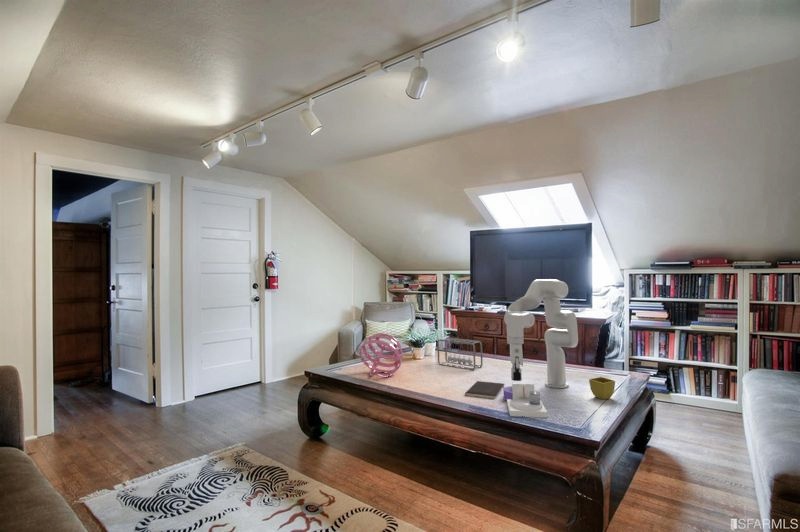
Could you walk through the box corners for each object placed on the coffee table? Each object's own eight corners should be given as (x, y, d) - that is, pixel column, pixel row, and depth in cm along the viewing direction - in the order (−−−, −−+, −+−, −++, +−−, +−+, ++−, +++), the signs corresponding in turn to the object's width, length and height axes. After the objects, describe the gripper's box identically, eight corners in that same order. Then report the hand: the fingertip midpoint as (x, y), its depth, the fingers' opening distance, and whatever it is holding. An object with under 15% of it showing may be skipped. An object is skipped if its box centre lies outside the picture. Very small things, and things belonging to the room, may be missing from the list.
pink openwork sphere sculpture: (381, 351, 235) (394, 320, 256) (344, 359, 248) (359, 329, 270) (403, 384, 246) (414, 351, 267) (367, 389, 259) (380, 358, 281)
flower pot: (603, 401, 198) (603, 383, 198) (588, 396, 206) (588, 378, 206) (616, 398, 202) (615, 380, 202) (601, 394, 210) (600, 376, 210)
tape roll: (507, 403, 199) (507, 393, 200) (500, 396, 211) (500, 386, 211) (531, 402, 200) (531, 392, 200) (522, 395, 212) (522, 385, 212)
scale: (506, 402, 200) (506, 382, 200) (540, 403, 197) (539, 383, 197) (510, 416, 182) (509, 393, 182) (547, 417, 179) (546, 394, 179)
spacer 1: (511, 378, 192) (510, 367, 192) (521, 378, 191) (520, 367, 191) (511, 380, 187) (511, 369, 187) (522, 381, 186) (521, 370, 187)
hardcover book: (504, 387, 227) (504, 383, 227) (495, 400, 206) (495, 395, 206) (476, 384, 234) (476, 380, 234) (465, 396, 213) (464, 392, 213)
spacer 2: (529, 401, 190) (528, 391, 190) (539, 402, 190) (539, 391, 190) (530, 404, 186) (530, 394, 186) (541, 405, 185) (540, 394, 185)
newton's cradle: (483, 367, 272) (482, 341, 273) (475, 370, 265) (474, 343, 265) (446, 361, 292) (445, 337, 292) (437, 364, 284) (436, 339, 284)
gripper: (526, 343, 180) (527, 384, 180) (521, 337, 197) (522, 374, 197) (508, 343, 182) (509, 384, 181) (505, 337, 198) (506, 374, 198)
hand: (516, 378), depth 189 cm, fingers closed on spacer 1, 4 cm apart
